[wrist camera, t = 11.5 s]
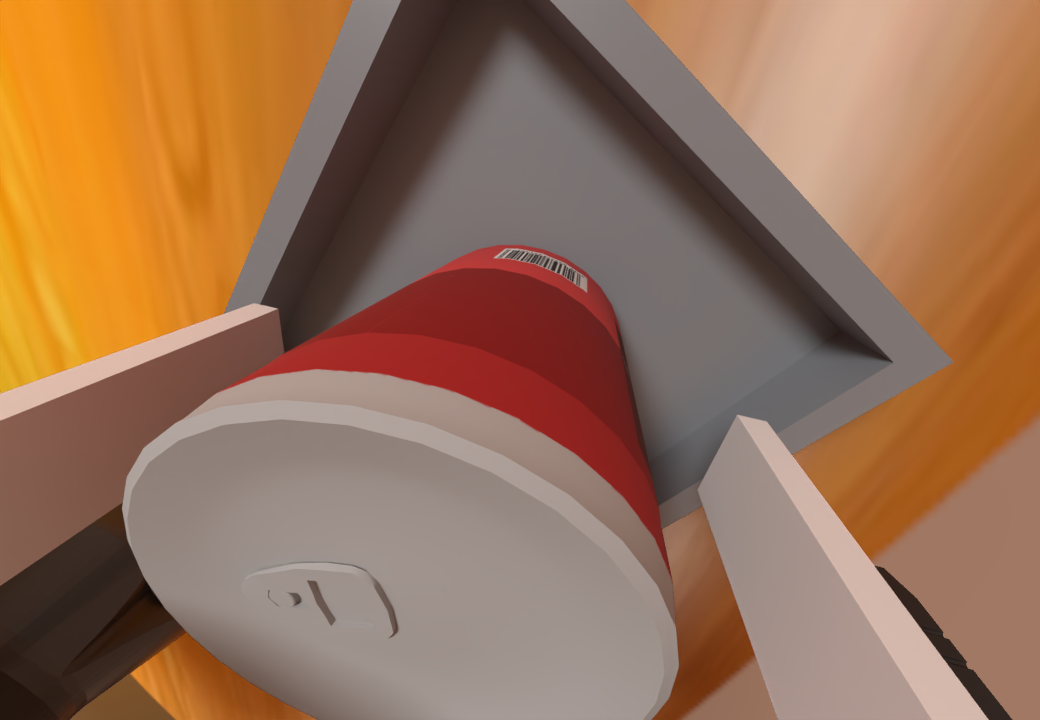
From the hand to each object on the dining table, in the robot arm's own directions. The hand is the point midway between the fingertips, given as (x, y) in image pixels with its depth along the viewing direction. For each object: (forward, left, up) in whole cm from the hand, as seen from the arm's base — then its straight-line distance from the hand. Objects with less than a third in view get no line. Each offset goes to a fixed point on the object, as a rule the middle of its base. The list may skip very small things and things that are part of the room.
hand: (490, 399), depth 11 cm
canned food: (0, 0, -5) cm, 5 cm away
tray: (0, 0, -6) cm, 6 cm away
